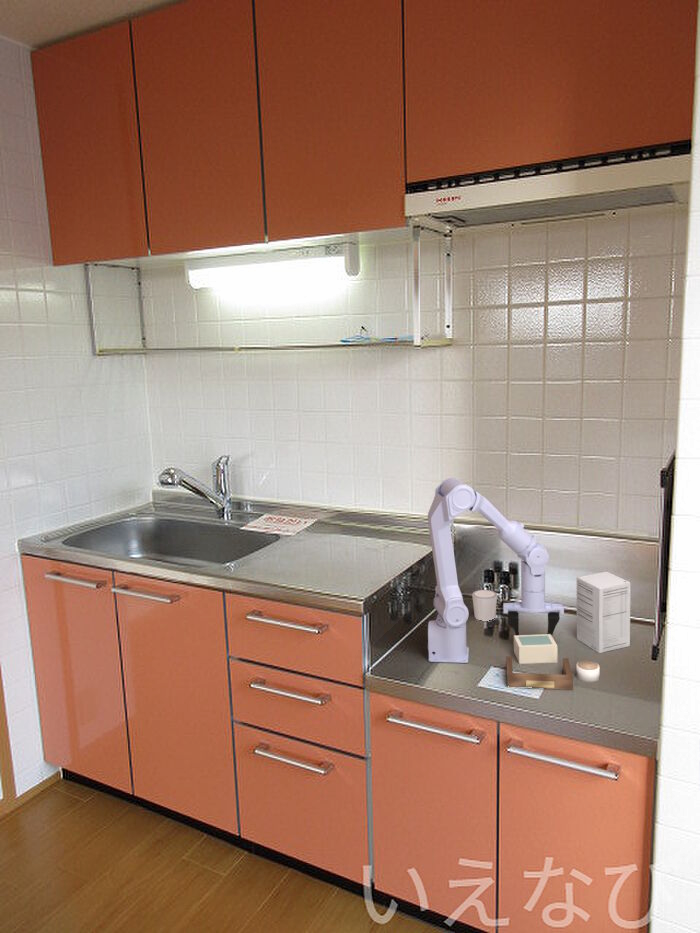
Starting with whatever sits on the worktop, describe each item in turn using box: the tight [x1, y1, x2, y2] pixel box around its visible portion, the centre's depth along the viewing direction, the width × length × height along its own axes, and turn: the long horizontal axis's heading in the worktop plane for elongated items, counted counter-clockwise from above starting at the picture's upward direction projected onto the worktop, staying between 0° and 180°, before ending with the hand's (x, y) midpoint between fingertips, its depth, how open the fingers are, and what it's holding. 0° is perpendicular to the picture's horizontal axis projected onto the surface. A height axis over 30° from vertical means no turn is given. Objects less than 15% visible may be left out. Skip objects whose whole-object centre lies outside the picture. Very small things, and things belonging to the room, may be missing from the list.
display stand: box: [505, 655, 574, 691], centre depth 157 cm, size 14×9×3 cm
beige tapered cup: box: [471, 589, 498, 622], centre depth 192 cm, size 7×7×7 cm
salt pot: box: [575, 659, 601, 683], centre depth 157 cm, size 5×5×3 cm
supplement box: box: [576, 571, 632, 654], centre depth 172 cm, size 10×9×17 cm
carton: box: [513, 633, 558, 665], centre depth 168 cm, size 9×6×4 cm
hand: (533, 639), depth 174 cm, fingers open, 7 cm apart
